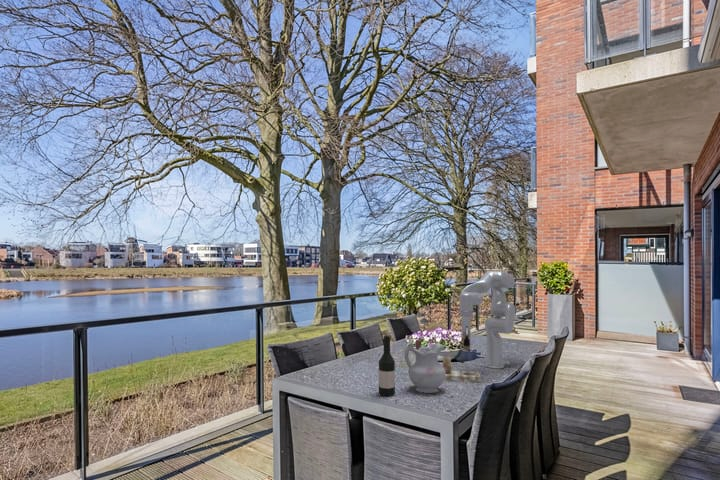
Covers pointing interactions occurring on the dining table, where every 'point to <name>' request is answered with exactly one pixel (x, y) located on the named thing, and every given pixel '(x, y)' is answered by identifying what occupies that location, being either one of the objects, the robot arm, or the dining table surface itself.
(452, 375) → the board
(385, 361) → the wine bottle
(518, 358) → the dining table surface
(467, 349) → the oak peg
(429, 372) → the ceramic pitcher
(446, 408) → the dining table surface
